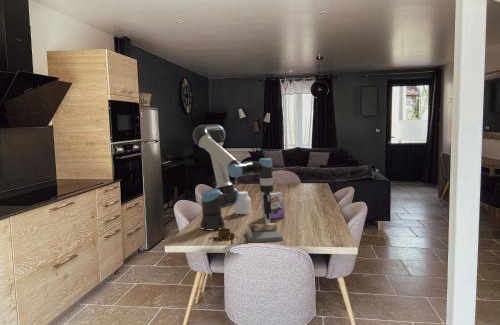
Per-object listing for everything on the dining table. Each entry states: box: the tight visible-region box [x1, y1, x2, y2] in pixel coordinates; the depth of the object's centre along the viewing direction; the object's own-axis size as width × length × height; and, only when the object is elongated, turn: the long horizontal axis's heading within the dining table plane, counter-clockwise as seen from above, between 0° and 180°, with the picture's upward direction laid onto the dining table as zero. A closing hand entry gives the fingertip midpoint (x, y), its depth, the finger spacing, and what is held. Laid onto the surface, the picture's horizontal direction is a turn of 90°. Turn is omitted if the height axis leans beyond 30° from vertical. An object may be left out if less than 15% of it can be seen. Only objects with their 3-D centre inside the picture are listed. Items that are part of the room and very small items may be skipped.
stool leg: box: [248, 222, 278, 231], centre depth 216 cm, size 16×3×3 cm, turn 98°
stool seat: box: [244, 228, 283, 244], centre depth 209 cm, size 18×17×5 cm
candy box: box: [261, 192, 285, 220], centre depth 251 cm, size 14×6×16 cm, turn 105°
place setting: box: [213, 227, 236, 245], centre depth 207 cm, size 18×20×6 cm
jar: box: [234, 191, 252, 215], centre depth 266 cm, size 12×10×15 cm
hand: (267, 224), depth 222 cm, fingers closed
